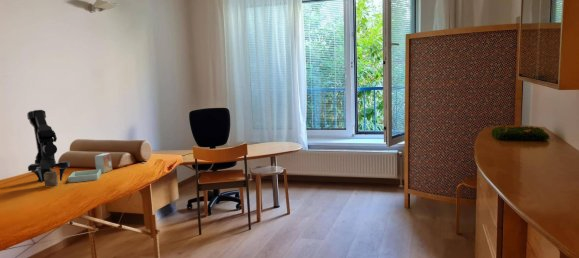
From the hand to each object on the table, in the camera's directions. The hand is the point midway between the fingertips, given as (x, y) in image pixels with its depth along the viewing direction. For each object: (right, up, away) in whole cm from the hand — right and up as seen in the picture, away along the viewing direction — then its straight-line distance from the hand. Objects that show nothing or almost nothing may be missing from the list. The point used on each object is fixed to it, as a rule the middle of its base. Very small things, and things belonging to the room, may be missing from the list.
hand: (51, 181), depth 226 cm
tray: (+12, 0, +13) cm, 18 cm away
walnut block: (0, -2, 0) cm, 2 cm away
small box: (+16, +2, +29) cm, 33 cm away
